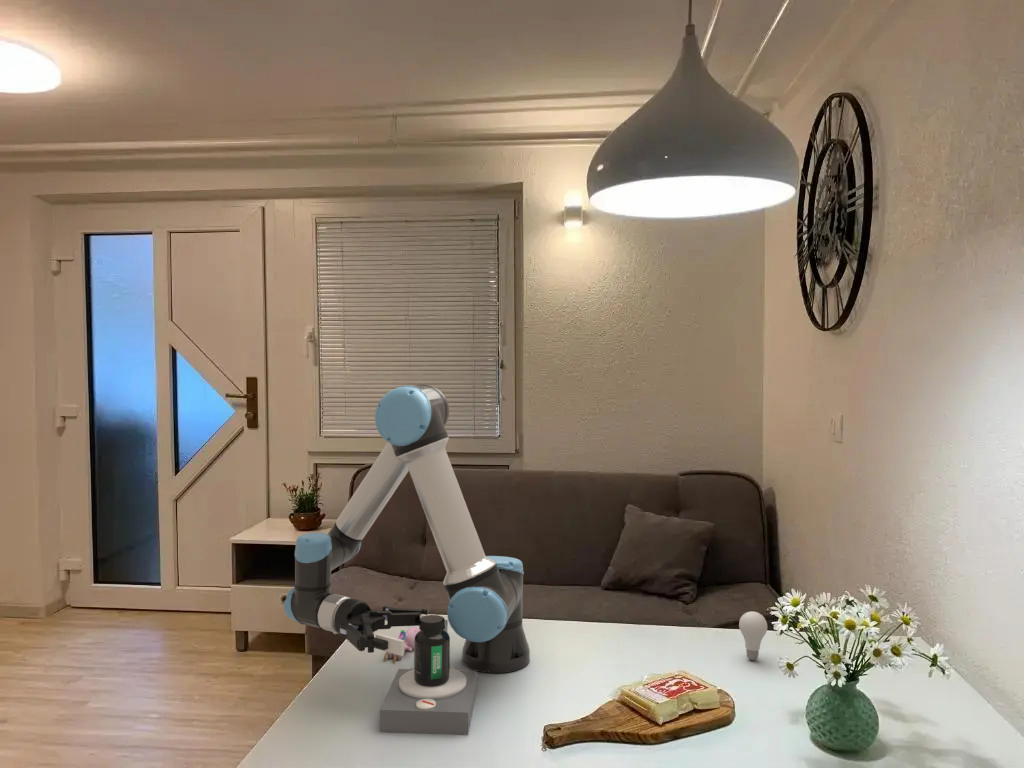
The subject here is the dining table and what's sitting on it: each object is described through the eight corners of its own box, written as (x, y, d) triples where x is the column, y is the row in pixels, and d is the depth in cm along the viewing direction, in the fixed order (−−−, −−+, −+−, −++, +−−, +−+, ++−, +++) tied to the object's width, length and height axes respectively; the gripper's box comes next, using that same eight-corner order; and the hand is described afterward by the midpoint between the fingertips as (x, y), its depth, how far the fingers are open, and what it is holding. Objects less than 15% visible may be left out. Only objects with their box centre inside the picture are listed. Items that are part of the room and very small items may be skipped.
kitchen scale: (398, 688, 154) (398, 664, 154) (476, 690, 154) (476, 666, 154) (379, 731, 136) (379, 704, 136) (468, 734, 136) (468, 707, 136)
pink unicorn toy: (402, 670, 167) (434, 637, 180) (400, 645, 166) (432, 613, 179) (378, 665, 169) (411, 633, 183) (375, 641, 168) (409, 610, 182)
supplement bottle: (444, 688, 143) (444, 626, 142) (409, 685, 144) (409, 623, 144) (453, 674, 150) (453, 614, 149) (419, 671, 151) (420, 611, 150)
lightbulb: (750, 652, 176) (751, 606, 175) (772, 661, 171) (773, 613, 170) (732, 658, 172) (733, 610, 172) (754, 667, 167) (755, 618, 167)
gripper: (385, 617, 169) (462, 636, 158) (300, 652, 148) (382, 678, 137) (385, 583, 169) (463, 601, 158) (300, 614, 148) (382, 637, 137)
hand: (425, 637), depth 147 cm, fingers open, 13 cm apart
